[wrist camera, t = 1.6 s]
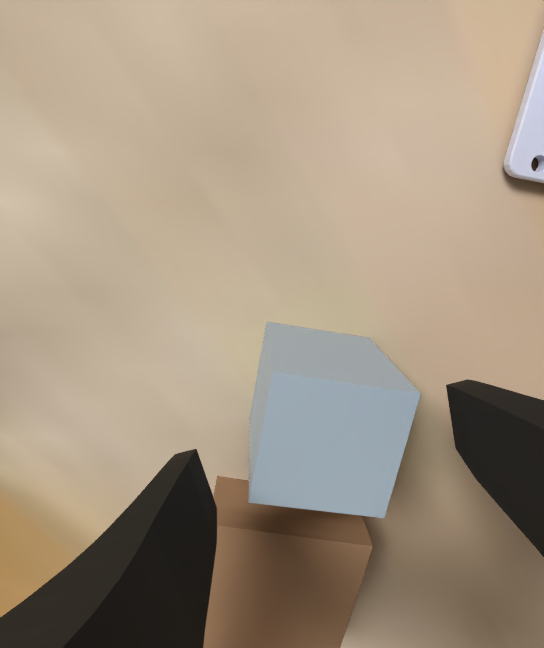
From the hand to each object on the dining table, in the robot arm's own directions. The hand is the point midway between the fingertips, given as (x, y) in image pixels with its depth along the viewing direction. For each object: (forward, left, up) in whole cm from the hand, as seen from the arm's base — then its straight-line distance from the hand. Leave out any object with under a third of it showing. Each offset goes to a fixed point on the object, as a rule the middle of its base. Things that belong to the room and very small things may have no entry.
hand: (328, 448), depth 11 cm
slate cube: (0, 0, -5) cm, 5 cm away
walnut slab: (0, +8, -5) cm, 9 cm away
